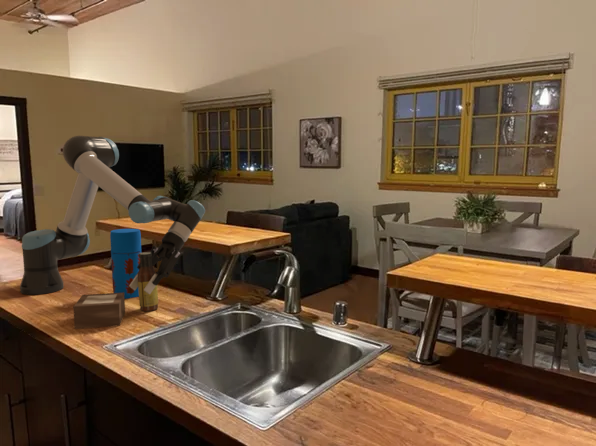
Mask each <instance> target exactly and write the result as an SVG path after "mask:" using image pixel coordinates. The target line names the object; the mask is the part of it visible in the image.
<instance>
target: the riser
mask: <svg viewBox="0 0 596 446" xmlns="http://www.w3.org/2000/svg"><path fill="white" fill-rule="evenodd" d="M125 306H126V301H125V298H124V292H123V293H113V292H110V293H92V294H90V293H89V294H82V295H81V296H80V298H79V299H78V300H77V301H76V303H75V304H74V305H73V307H72V308H73V322H74V325H73V326H74V330H80V329H92V328H105V327H107V328H108V327H119V326H121V324H122V322H123V319H124V317H125V314H126V307H125ZM123 316H124V317H123Z"/></svg>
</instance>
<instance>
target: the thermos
mask: <svg viewBox="0 0 596 446" xmlns="http://www.w3.org/2000/svg"><path fill="white" fill-rule="evenodd" d="M141 235H142V234H141V230H140V229H139V228H120V229H113V230H110V236H109V239H110V258H111V274H112V275H111V277H112V279H111V281H112V293H123V292H124V298H125V299H127V300H128V299H133V298H139V291H138V287H137V289H136V290H133V289H132V288H131V287H130V286H129V285H130V284H131V282H132V281H133V279H134V278H135V276H136V275H137V273H138V271H139V269H138V268H137V266H138V265H139V264H140V258H139V254H140V253H142V236H141Z"/></svg>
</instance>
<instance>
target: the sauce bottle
mask: <svg viewBox="0 0 596 446" xmlns="http://www.w3.org/2000/svg"><path fill="white" fill-rule="evenodd" d="M151 257H152V254H151V253H150V251H147V252H146V251H145V252H141V253H140V254H139V258H140V269H139V271H138V291H139V296H138V300H139V301H138V302H139V309H140V311H142V312H152V311H155V310H158V309H159V294H158V293H159V291H158V284H157V285H156V286H155V288H154V289H153V291H152V292H151V294H148V293H147V292H145V291H144V288H145V287H146V286H147V284H148V283H149V281H150V280H151V278H152V277H153V275H154V274H156V270H155V269H154V266H152V262H151Z"/></svg>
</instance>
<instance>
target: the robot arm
mask: <svg viewBox="0 0 596 446" xmlns="http://www.w3.org/2000/svg"><path fill="white" fill-rule="evenodd" d="M62 156H63V159H64V161H65V162H66V164H67V166H69V167H70V168H71V169H73V170H74V171H75V172H76V173H77V177H76V180H75V183H74V187H73V189H72V192H71V195H70V199H69V202H68V205H67V208H66V211H65V215H64V218H63V220H61V221H60V222H58V223H57V225H56V229H55V230H54V229H50V228H49V229H39V230H34V231H29V232H27V233H26V234H25V233H24V234H23V236H22V238H21V248H22V249H21V250H22V257H23V258H22V259H23V262H22V263H23V275H22V278H21V282H20V286H19V290H20V294H23V295H44V294H52V293H55V292H57V291H58V292H59V291H61V290H63V289H64V287H65V286H64V280H63V277H62V276H61V273H60V271H59V269H58V261H59V260H65V259H69V258H75V257H78V256H79V255H82V254H84V253H86V251H87V250H88V249H89V246H90V243H91V238H90V235H89V231H88V228H87V226H86V225H87V223H88V220H89V217H90V213H91V210H92V207H93V204H94V203H95V198H96V196H97V192H98V190H99V188H100V189H102V191H104V193H106V194H107V195H109V196H110V197H111V198H112V199H113V200H115V201H116V202H117V203H118V204H120V205H121V206H122V207H124V208H125V209H126V210H127V211H128V217H130V220H131V221H132V222H133V223H135V224H149V223H153V222H156V221H157V222H158V221H163V220H170V221H171V222H173V223H172V224H171V226H170V227H169V228H168V229H167V232H166V233H165V234H164V235H163V236H162V237H161V238H162V239H161V244H160V245H159V246H158V247H157V246H155V245H154V246H152V247H151V249H150V251H149V252H150V253H151V254H152V257H151V262H152V266H153V267H154V266H155V265H156V264H157V263H159V262H160V264H159V267H158V270H157V271H155V274H154V275H153V277H152V278H151V280H150V281H149V283H148V284H147V286H146V287H145V288H144V291H145V292H147V293H148V294H151V292H152V291H153V289H154V288H155V286H156V285H157V286H158V285H159V283H160V282H161V280H162V279H163V278H168V277H169V276H170V274H171V272H172V270H173V268H174V267H175V264H176V263H177V261H178V259H179V258H180V257H181V256H182V254H181V253H180V251H181V250H182V248H183V247H184V245H185V243H186V242H187V241H188V239H189V238H190V236H191V234H192V233H193V232H194V230H195V229H196V227H197V226H198V224H199V223H200V221H202V218H203V217H204V215H205V213H206V208H205V207H204V205H203V203H200V202H199V201H197V200H192V199H191V200H188V202H186V203H184V202H183V203H182V202H180V201H177V200H175V199H172V198H170V197H167V196H163V195H157V196H156V197H154V199H152V200H150V199H149V198H147V197H146V196H144V195H143V194H142V193H141V192H140V191H138V190H137V189H136V188H135V187H134V186H132V185H131V184H130V183H128V182H127V181H126V180H125V179H123V178H122V177H121V176H120V175H119V174H118V173H116V172H115V171H113V169H112V168H111V167H113V166H116V165H117V163H118V161H119V158H120V152H119V149H118V146H117V144H116V143H115V142H114V141H113V140H111V139H110V138H108V137H103V136H87V135H75V136H72V137H70V138H68V139H67V140H66V141H65V143H64V145H63V147H62ZM137 268H138V269H140V264H139V265H138V266H137ZM129 286H130V287H131V288H132V289H133V290H136V289H137V287H138V273H137V275H136V276H135V278H134V279H133V281H132V282H131V284H130V285H129Z"/></svg>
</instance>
